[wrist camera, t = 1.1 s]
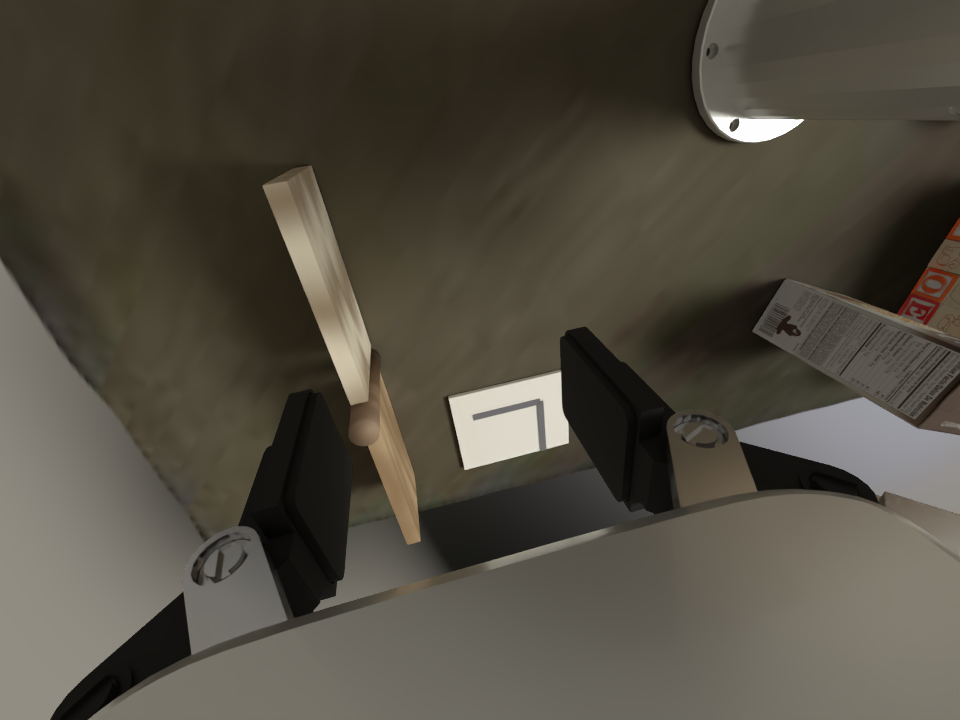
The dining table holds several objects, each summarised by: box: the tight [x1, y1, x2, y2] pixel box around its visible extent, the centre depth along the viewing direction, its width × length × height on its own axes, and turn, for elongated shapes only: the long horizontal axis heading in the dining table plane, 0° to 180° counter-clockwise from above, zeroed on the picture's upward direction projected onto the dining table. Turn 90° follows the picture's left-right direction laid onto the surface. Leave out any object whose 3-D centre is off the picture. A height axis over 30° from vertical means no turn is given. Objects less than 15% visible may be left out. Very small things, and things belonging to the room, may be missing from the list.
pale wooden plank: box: [262, 165, 371, 405], centre depth 27 cm, size 14×1×8 cm, turn 8°
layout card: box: [448, 369, 569, 470], centre depth 42 cm, size 12×10×1 cm
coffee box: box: [752, 279, 960, 435], centre depth 36 cm, size 9×6×16 cm
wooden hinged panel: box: [348, 349, 420, 545], centre depth 34 cm, size 2×16×10 cm, turn 8°
